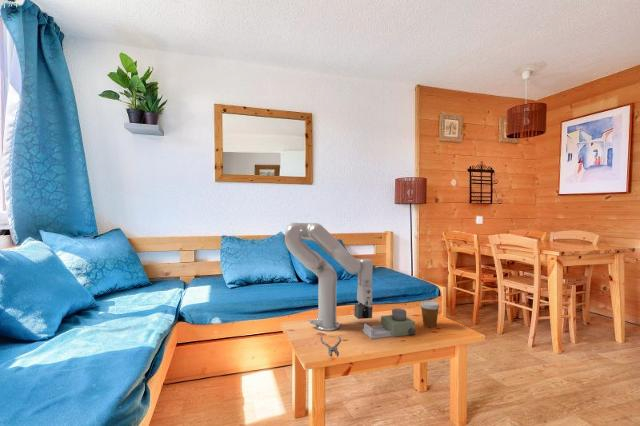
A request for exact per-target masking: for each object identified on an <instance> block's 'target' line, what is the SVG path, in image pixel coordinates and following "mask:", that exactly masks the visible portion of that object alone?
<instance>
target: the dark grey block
mask: <svg viewBox="0 0 640 426" xmlns="http://www.w3.org/2000/svg"><path fill="white" fill-rule="evenodd" d="M366 304H367V303H365V305H366ZM366 307H367V306H365V308H366ZM363 310H364V309H363V304H358V303H357V304H354V314H353V315H354V317H355V318H356V319H358V320H361V319H363V320H364V319H372V318H373V306H372V305H371V307H370V309H369V316H368V318H362V317H363Z"/></svg>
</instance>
